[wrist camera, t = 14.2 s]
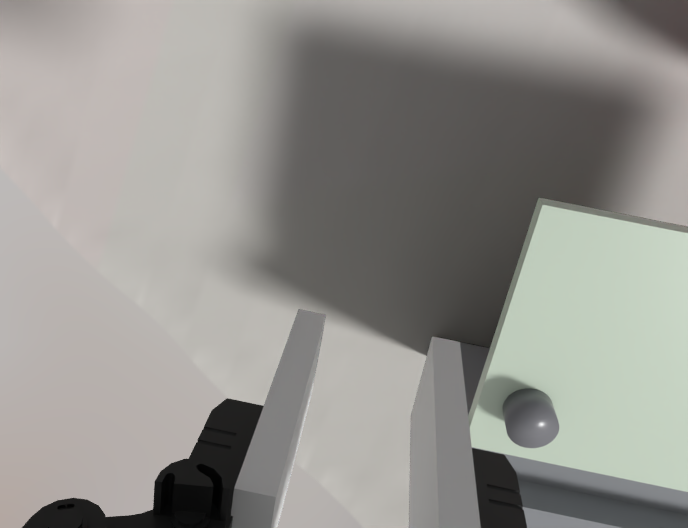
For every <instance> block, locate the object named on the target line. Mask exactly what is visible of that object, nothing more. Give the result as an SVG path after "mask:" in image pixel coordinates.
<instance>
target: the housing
mask: <svg viewBox="0 0 688 528" xmlns="http://www.w3.org/2000/svg"><path fill="white" fill-rule="evenodd" d="M460 348H461V357H462V365H463V374H464V383H465V392H466V401H467V410H468V415H469V412H470V409H471V406H472V403H473V399H474V396H475V393H476V390H477V387H478V384H479V381H480V378H481V375H482V372H483V368H484V365H485V362H486V359H487V356H488V353H489V350H490V348H486V347H481V346H476V345H471V344H466V343H461V342H460ZM472 448H474V447H472ZM475 449H478V448H475ZM480 450H483V449H480ZM485 451H488V450H485ZM489 452H493V451H489ZM494 453H498V452H494ZM499 454H502V453H499ZM504 455H505V456H506V458H507V459H508V461H509V462H510V464H511V465H512V467H513V468H514V470H515V471H516V473H517V478H518V483H519V489H520V495H521V499H522V504H523V510H524V514H525V519H526V524H527V528H688V492H685V491H680V490H675V489H671V488H666V487H661V486H656V485H651V484H647V483H642V482H637V481H632V480H627V479H623V478H618V477H613V476H608V475H603V474H599V473H594V472H589V471H584V470H579V469H574V468H570V467H565V466H560V465H555V464H550V463H546V462H541V461H536V460H531V459H526V458H522V457H517V456H512V455H507V454H504Z"/></svg>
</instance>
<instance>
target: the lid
mask: <svg viewBox="0 0 688 528" xmlns="http://www.w3.org/2000/svg"><path fill="white" fill-rule="evenodd" d="M468 419H469V428H470V437H471V446H472V447H474V448H478V449H483V450H488V451H493V452H498V453H502V454H507V455H512V456H517V457H522V458H526V459H531V460H536V461H541V462H546V463H550V464H555V465H560V466H565V467H570V468H574V469H579V470H584V471H589V472H594V473H599V474H603V475H608V476H613V477H618V478H623V479H627V480H632V481H637V482H642V483H647V484H651V485H656V486H661V487H666V488H671V489H675V490H680V491H685V492H688V227H687V226H682V225H677V224H672V223H667V222H661V221H656V220H651V219H646V218H641V217H636V216H631V215H626V214H621V213H616V212H611V211H605V210H600V209H595V208H590V207H585V206H580V205H575V204H570V203H565V202H560V201H555V200H550V199H544V198H538V201H537V204H536V207H535V210H534V213H533V217H532V220H531V223H530V226H529V229H528V232H527V235H526V238H525V241H524V244H523V248H522V251H521V254H520V257H519V260H518V263H517V266H516V269H515V272H514V275H513V279H512V282H511V285H510V288H509V291H508V294H507V297H506V300H505V303H504V306H503V310H502V313H501V316H500V319H499V322H498V325H497V328H496V331H495V334H494V337H493V341H492V344H491V347H490V350H489V353H488V356H487V359H486V362H485V365H484V368H483V372H482V375H481V378H480V381H479V384H478V387H477V390H476V393H475V396H474V399H473V403H472V406H471V409H470V412H469V415H468Z"/></svg>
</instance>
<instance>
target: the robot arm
mask: <svg viewBox="0 0 688 528" xmlns="http://www.w3.org/2000/svg"><path fill="white" fill-rule="evenodd" d="M325 318H326V315H325V314H320V313H315V312H310V311H305V310H300V309H299V310H298V313H297V315H296V318H295V321H294V324H293V326H292V329H291V332H290V335H289V338H288V340H287V343H286V346H285V349H284V351H283V354H282V357H281V360H280V363H279V365H278V368H277V371H276V374H275V376H274V379H273V382H272V385H271V387H270V390H269V393H268V396H267V399H266V401H265V404H264V406H261V405H256V404H252V403H247V402H242V401H237V400H232V399H228V398H227V399H226V400H224V401H223V402H222V403H221V404H219V405H218V406H217V407H216V408H214V409H213V410H212V411H211V413H210V415H209V418H208V420H207V422H206V424H205V426H204V429H203V430H202V433H201V434H200V436H199V438H198V442H197V443H196V445H195V447H194V449H193V451H192V453H191V455H190V457H189V459H183V460H180V461H177V462H174V463H171V464H170V465H169V466H167V467H166V468H165V469H163V470H162V471H161V472H160V474H159V475H158V477H157V479H156V480H155V488H154V507H153V510H150V511H147V512H145V513H142V514H136V515H130V516H116V517H105V514H104V513H103V511H102V510H101V508H100V507H99V506H98V505H96V504H94V503H92V502H90V501H88V500H85V499H77V498H70V499H64V500H58V501H56V502H53V503H51V504H49V505H47V506H44V507H43V508H41V509H40V510H39V511H38V512H37V513H35V514H34V515H33V516H32V517H31V518H30V519H29V520H28V521H27V523H26V524H25V525H24V526H23V527H22V528H278V524H279V520H280V516H281V512H282V508H283V504H284V500H285V496H286V492H287V489H288V485H289V481H290V477H291V473H292V469H293V465H294V461H295V457H296V453H297V450H298V446H299V442H300V438H301V434H302V430H303V426H304V422H305V418H306V414H307V410H308V407H309V403H310V399H311V395H312V389H313V384H314V378H315V373H316V367H317V362H318V356H319V351H320V345H321V340H322V334H323V329H324V323H325ZM409 528H527V524H526V519H525V514H524V510H523V504H522V499H521V495H520V489H519V483H518V478H517V473H516V471H515V470H514V468H513V467H512V465H511V464H510V462H509V461H508V459H507V458H506V456H505V455H504V454H499V453H494V452H489V451H485V450H480V449H475V448H472V446H471V437H470V428H469V419H468V410H467V401H466V392H465V383H464V374H463V365H462V357H461V348H460V342H458V341H453V340H448V339H443V338H438V337H433V336H432V339H431V343H430V346H429V350H428V354H427V358H426V361H425V365H424V369H423V372H422V376H421V380H420V383H419V387H418V391H417V394H416V398H415V402H414V405H413V409H412V413H411V431H410V486H409Z"/></svg>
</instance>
